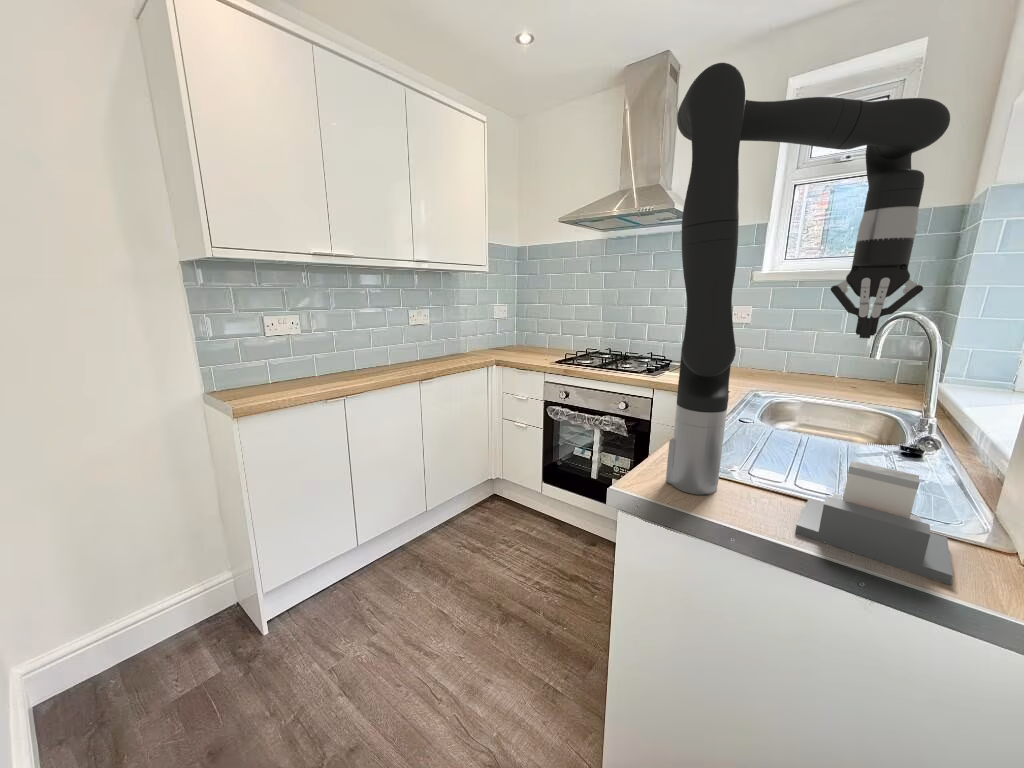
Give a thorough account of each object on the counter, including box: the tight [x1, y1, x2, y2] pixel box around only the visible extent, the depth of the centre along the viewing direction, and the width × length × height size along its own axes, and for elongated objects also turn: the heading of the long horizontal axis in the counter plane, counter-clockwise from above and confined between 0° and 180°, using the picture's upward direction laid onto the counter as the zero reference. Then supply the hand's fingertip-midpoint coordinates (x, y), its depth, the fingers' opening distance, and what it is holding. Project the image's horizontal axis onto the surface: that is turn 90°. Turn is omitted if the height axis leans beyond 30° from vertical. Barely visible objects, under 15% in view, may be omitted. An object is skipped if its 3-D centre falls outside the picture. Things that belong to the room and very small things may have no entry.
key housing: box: [794, 493, 954, 586], centre depth 66 cm, size 18×12×6 cm, turn 46°
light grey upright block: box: [842, 460, 920, 519], centre depth 65 cm, size 8×3×10 cm, turn 46°
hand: (864, 337), depth 75 cm, fingers closed
